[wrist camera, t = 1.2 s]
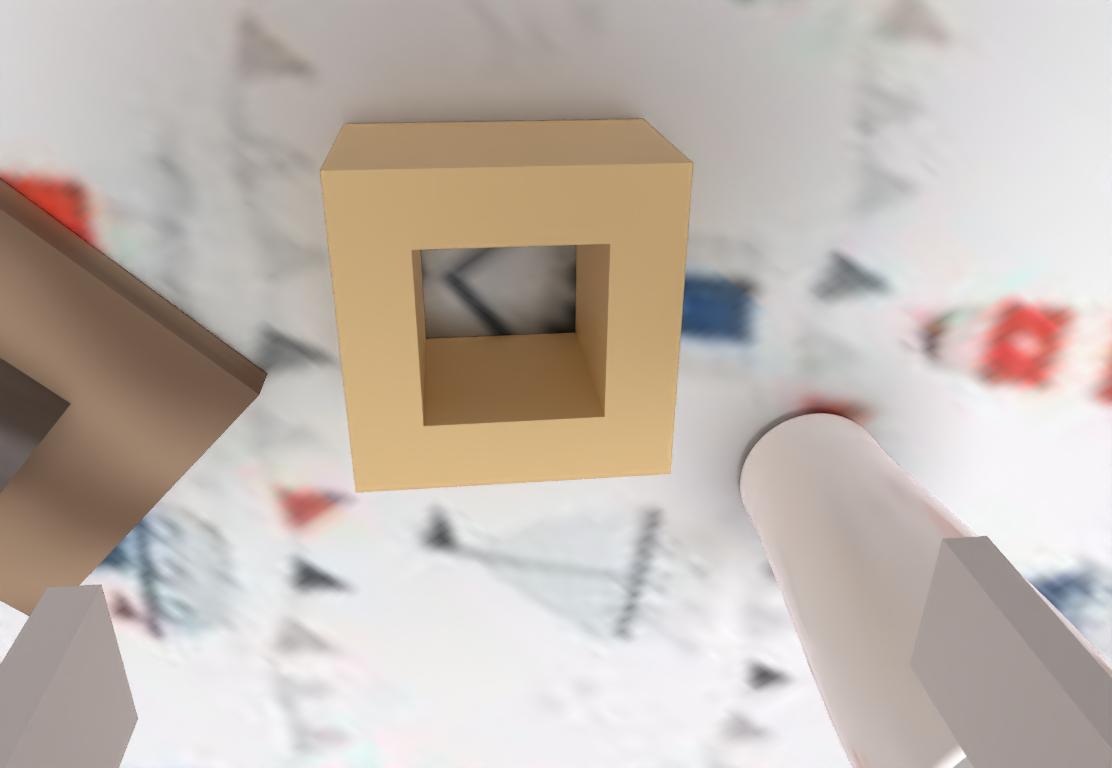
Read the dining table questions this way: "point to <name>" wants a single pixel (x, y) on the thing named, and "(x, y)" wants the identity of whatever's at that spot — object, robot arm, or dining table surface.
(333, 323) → the dining table surface
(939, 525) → the drinking glass
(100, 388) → the post base
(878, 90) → the dining table surface
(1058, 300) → the dining table surface
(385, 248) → the collar
